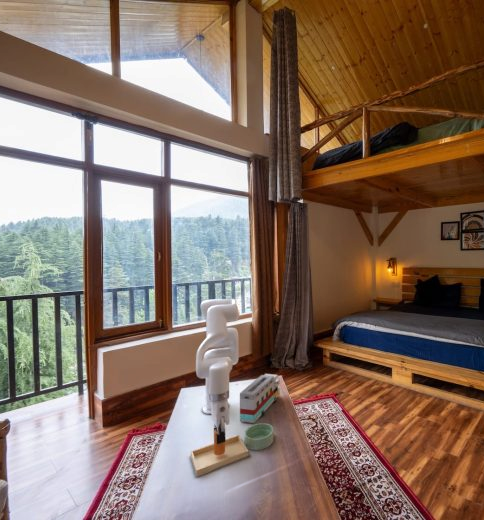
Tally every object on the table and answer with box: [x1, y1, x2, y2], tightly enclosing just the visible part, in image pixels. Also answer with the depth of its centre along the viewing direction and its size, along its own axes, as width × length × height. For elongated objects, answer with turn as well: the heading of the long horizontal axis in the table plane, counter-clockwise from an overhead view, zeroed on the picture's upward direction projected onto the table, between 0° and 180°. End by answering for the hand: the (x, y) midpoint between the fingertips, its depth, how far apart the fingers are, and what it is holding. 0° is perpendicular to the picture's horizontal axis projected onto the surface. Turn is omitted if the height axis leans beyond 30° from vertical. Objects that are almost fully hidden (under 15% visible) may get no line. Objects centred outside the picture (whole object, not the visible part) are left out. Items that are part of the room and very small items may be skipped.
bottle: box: [213, 427, 225, 456], centre depth 121 cm, size 4×4×11 cm
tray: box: [190, 434, 249, 478], centre depth 121 cm, size 13×19×2 cm
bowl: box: [244, 422, 274, 451], centre depth 130 cm, size 12×12×5 cm
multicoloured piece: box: [239, 373, 281, 424], centre depth 159 cm, size 8×30×15 cm, turn 168°
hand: (219, 439), depth 121 cm, fingers closed on bottle, 4 cm apart
